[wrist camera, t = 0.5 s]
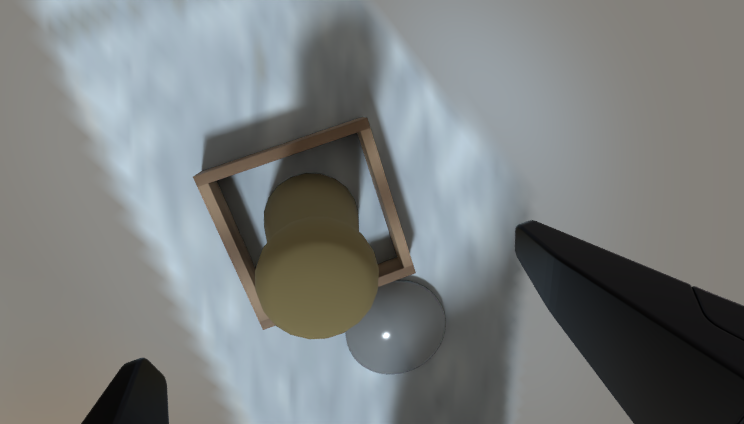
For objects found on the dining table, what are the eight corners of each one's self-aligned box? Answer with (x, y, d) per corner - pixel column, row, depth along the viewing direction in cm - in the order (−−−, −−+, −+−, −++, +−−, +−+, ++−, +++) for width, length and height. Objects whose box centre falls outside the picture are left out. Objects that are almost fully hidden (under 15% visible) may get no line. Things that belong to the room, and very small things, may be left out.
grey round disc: (418, 381, 31) (419, 385, 30) (329, 355, 29) (329, 359, 28) (460, 298, 29) (462, 301, 29) (370, 266, 28) (371, 268, 27)
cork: (313, 152, 25) (323, 185, 15) (377, 220, 27) (426, 292, 16) (242, 218, 25) (202, 297, 15) (310, 281, 27) (317, 390, 17)
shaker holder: (407, 261, 28) (415, 272, 26) (265, 314, 27) (263, 330, 25) (362, 116, 25) (367, 117, 23) (201, 171, 24) (192, 176, 22)
